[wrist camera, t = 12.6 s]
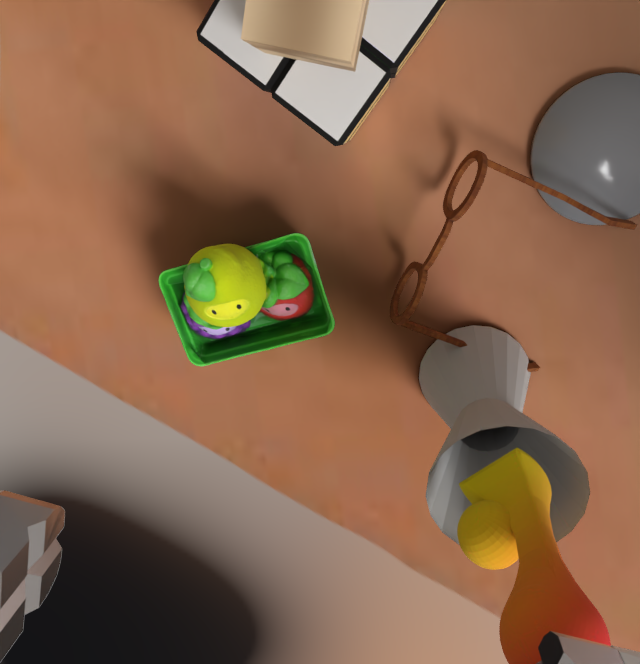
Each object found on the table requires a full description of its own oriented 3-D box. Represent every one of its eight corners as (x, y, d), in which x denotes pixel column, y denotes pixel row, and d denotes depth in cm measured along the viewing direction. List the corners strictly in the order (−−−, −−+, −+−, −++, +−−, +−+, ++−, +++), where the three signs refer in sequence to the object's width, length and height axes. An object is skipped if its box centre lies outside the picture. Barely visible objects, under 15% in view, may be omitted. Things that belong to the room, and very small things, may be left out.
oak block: (376, -33, 30) (375, -69, 25) (355, 71, 32) (350, 61, 27) (280, -53, 31) (258, -92, 25) (264, 53, 32) (240, 38, 27)
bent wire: (468, 144, 41) (477, 152, 37) (635, 222, 42) (663, 239, 37) (386, 304, 47) (384, 328, 42) (535, 371, 47) (549, 402, 43)
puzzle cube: (233, 54, 42) (191, 36, 32) (317, -84, 38) (297, -150, 29) (348, 143, 43) (339, 150, 34) (438, 16, 40) (456, -16, 30)
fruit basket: (210, 346, 49) (163, 408, 39) (170, 243, 47) (109, 280, 36) (342, 311, 47) (331, 366, 37) (308, 202, 45) (286, 227, 34)
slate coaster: (707, 93, 40) (712, 92, 39) (645, 238, 43) (648, 240, 42) (560, 57, 40) (563, 56, 39) (510, 205, 43) (511, 206, 43)
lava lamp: (486, 300, 45) (714, 839, 13) (556, 383, 47) (904, 1029, 15) (393, 368, 48) (393, 941, 16) (462, 443, 50) (585, 1088, 18)
